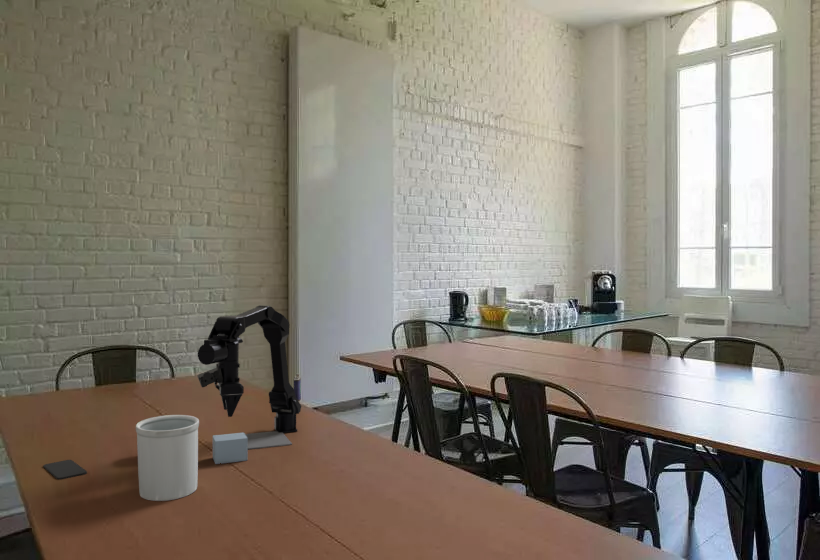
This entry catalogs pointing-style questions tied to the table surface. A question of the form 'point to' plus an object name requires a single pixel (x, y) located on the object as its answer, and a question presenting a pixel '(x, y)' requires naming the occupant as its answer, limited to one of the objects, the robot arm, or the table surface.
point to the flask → (297, 387)
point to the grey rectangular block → (230, 448)
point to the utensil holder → (167, 456)
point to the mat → (267, 440)
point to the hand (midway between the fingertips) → (227, 413)
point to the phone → (64, 469)
